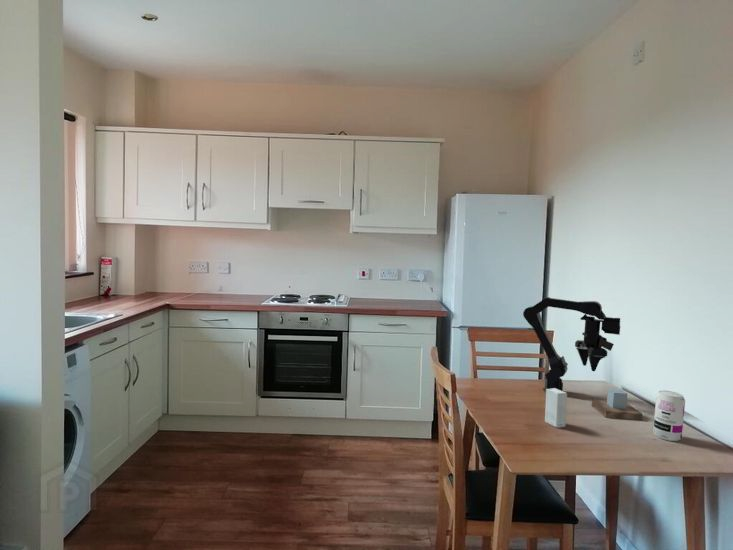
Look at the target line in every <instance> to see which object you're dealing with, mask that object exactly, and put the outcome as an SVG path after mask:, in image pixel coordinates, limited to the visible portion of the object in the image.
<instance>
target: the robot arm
mask: <svg viewBox="0 0 733 550" xmlns="http://www.w3.org/2000/svg"><path fill="white" fill-rule="evenodd" d="M547 308H555V309H563V310H568V311H576V312H579V313H582V314H583V316H582V317H580V320H581V321H585V322H584V332H582V336H583V339H582V340H580V339H579V340H576V341H575V342H574V343H575V344H574V347H575V349H576V351H577V354H578V355H579V358H580V361H581V364H582V365H583V366H585V367H586V366H587V364H588V360H589V364H590V369H591V372H595V371H596V370H597V368H598V365H599V363H600V360H603V359H605V358H606V357H608V351H609V352H610V351H612V349H613V347H614V345H615V344H614V343H613V342H610V341H608V340H607V337H605V336H602V335H601V334H600V332H601V331H603V332H604V334H610V335H616V336H617V335H618V336H620V333H621V318H620V317H610V316H609V317H608V316H606V314H605V313H604V311H603V310H602V309H603V307H602V304H601V303H600V302H598V301H595V300H590V301H584V300H583V301H574V300H569V299H568V300H566V299H560V298H552V297H550V296H547V297H544V298H542V300H540V301H538V302H537V303H536V304H534V305H533V306H532V305H531V306H528V307H526V308H525V309H524V310H523V313H522V316H523V318H524V320H526V322H527V323H528V324H529V326H530V327H532V329H533V330H534V333H535V335H536V336H537V339H538V340H539V343H540V344H541V346H542V348H543V350H544V352H545V354H546V356H547V359H548V365H549V368H550V369H549V370H547V372H546V373H545V375H544V376H545V377H544V388H542V390H543V391H544V392H545V393H546V389H551V388H556V389H558V390H561V391H563V390H564V383H563V379H562V378H563V377H564V376H565V374H566V373H567V371H568V365H569V364H568V362H567V361H566V358H565V356H564V355H562V356H560V355H559V354H558V352H557V350H556V348H555V346H554V344H553V343H552V340H551V339H550V337H549V335H548V333H547V330H546V329H545V326H544V325H543V319H542V316H541V313H542V312H543V311H544V310H546V309H547ZM600 330H601V331H600ZM607 350H608V351H607ZM563 392H564V391H563Z"/></svg>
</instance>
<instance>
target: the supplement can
mask: <svg viewBox="0 0 733 550" xmlns="http://www.w3.org/2000/svg"><path fill="white" fill-rule="evenodd" d="M655 396H656V397H655V407H654V417H653V426H652V427H653V429H652V433H653V434H654V436H655V437H657V438H659V439H662V440H664V441H669V442H679V441H680V440H682V438H683V430H684V416H685V407H686V399H685V397H684V395H683V394H682V393H679V392H676V391H670V390H658V393H657V394H656V395H655Z"/></svg>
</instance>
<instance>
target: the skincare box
mask: <svg viewBox="0 0 733 550" xmlns="http://www.w3.org/2000/svg"><path fill="white" fill-rule="evenodd" d="M567 398H568V393H567V392H565V391H561V390H558V389H556V388H551V389H546V392H545V409H544V410H545V412H544V422H545V423H547V424H549V425H551V426H553V427H555V428H565V427H566V424H567V422H566V421H567V405H568V403H567V402H568V399H567Z"/></svg>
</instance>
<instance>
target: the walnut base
mask: <svg viewBox="0 0 733 550" xmlns="http://www.w3.org/2000/svg"><path fill="white" fill-rule="evenodd" d="M591 400H592V401H591V407H592V408H593V409H595V410H596V411H597V412H599V413H600V414H601V415H602V416H604V418H607V419H608V418H609V419H618V420H620V419H622V420H633V421H643V413H642V412H641V411H639V410H638V409H636V408H635V407H633V406H632V405H630V404H629V403H628V402H627V405H626V409H617V408H612V407H610V406H609V405H608V404H607V400H602V399H601V400H598V399H591Z"/></svg>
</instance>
